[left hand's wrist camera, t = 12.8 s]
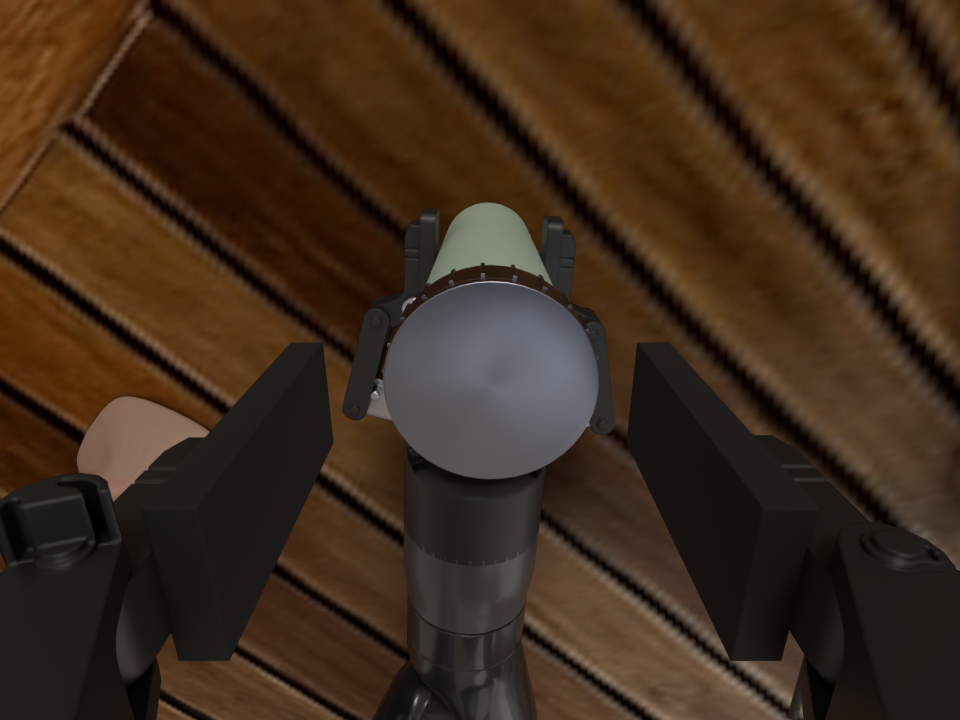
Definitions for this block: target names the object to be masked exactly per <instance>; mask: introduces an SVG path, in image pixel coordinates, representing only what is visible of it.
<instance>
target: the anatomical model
mask: <svg viewBox="0 0 960 720" xmlns="http://www.w3.org/2000/svg"><path fill="white" fill-rule="evenodd" d="M208 433H209V431H208V430H206V429H205V428H204V427H202V426H201V425H199V424H197V423H195V422H194V421H192V420H190V419H189V418H187V417H185V416H183V415H181V414H179V413H177V412H175V411H172V410H170V409H168V408H166V407H163V406H161V405H159V404H156V403H153V402H150V401H147V400H144V399H141V398H137V397H120V398H117V399H115V400H113V401H112V402H110V403H109V404H108V405H107V406H106V407H105V408H104V409H103V410H102V411H101V413H100V414H99V415H98V417H97V418H96V420H95V421H94V422H93V424H92V425H91V427H90V428H89V430H88V431H87V433H86V435H85V437H84V440H83V442H82V444H81V447H80V449H79V452H78V456H77V466H78V469H79V472H80V473H87V474H94V475H99V476H101V477H102V478H104V479H105V480H107V481H108V485H109V488H110V492H111V496H112V499H113V502H114V501H115V500H116V499H117V498H118V497H119V496H120V495H121V494H122V493H123V492H124V491H125V490H126V489H127V488H128V487H129V486H130V485H131V484H134V483H135V480H136V479H137V478H138V477H139V476H140V475H141V474H142V473H143V472H144V471H145V470H148V467H149V466H150V465H151V464H152V463H153V462H154V461H155V460H156V459H157V458H158V457H159V456H160V455H161V454H162V453H163V452H164V451H165V450H167V449H169V448H170V447H172V446H174V445H176V444H178V443H179V442H181V441H183V440H185V439H187V438H188V437H206V435H207V434H208Z"/></svg>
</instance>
